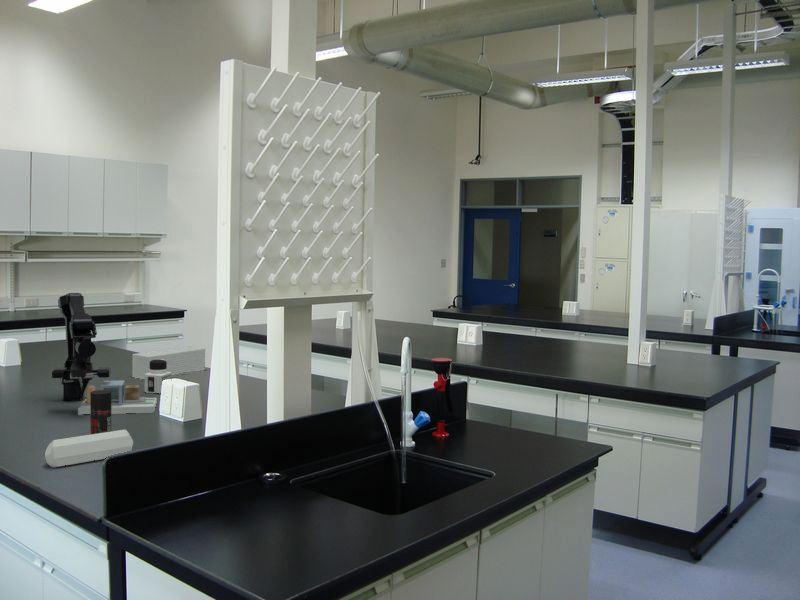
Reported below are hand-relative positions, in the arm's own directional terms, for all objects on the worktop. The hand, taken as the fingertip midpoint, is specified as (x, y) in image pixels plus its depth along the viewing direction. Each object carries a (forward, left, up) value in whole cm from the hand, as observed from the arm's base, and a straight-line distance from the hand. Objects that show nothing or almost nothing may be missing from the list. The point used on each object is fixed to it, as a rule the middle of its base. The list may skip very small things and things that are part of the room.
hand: (82, 396), depth 257 cm
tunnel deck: (+13, 0, -5) cm, 14 cm away
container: (+24, +29, -5) cm, 38 cm away
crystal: (+12, -59, -6) cm, 60 cm away
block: (+17, 0, -1) cm, 17 cm away
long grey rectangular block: (+26, +66, -6) cm, 72 cm away
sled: (+12, 0, -2) cm, 12 cm away
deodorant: (+12, -40, -5) cm, 42 cm away
